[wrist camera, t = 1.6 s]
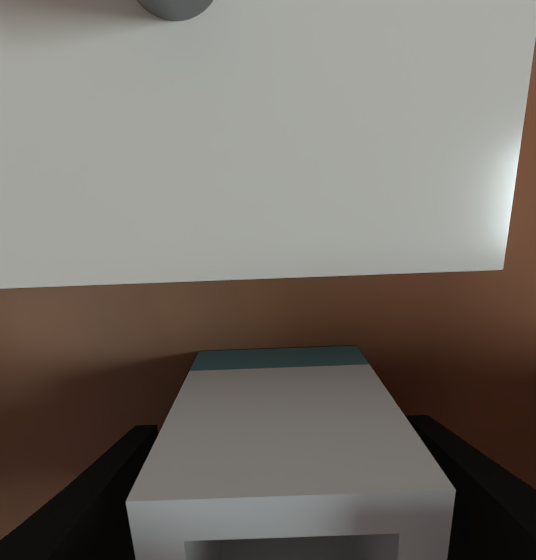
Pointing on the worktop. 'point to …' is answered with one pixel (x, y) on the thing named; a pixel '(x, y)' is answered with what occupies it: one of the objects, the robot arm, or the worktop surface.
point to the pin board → (257, 137)
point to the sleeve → (288, 465)
